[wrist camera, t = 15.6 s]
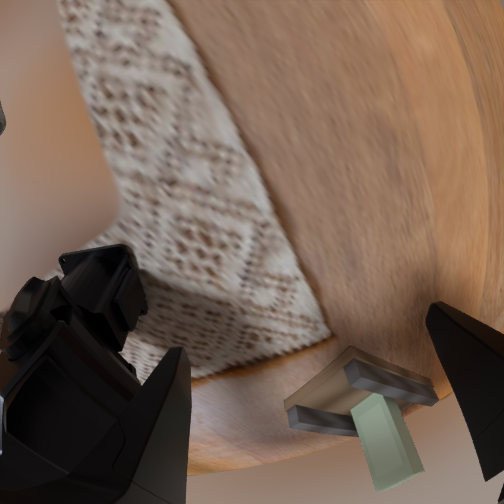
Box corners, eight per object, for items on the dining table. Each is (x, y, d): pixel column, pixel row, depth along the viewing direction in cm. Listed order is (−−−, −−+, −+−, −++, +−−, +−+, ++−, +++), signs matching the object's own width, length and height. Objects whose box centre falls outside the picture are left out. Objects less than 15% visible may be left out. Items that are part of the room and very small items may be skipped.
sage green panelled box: (349, 409, 31) (375, 492, 20) (379, 388, 30) (413, 473, 19) (363, 412, 32) (389, 489, 21) (391, 391, 31) (424, 471, 20)
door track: (283, 401, 31) (288, 428, 28) (350, 345, 27) (363, 375, 24) (377, 419, 37) (384, 439, 34) (429, 379, 34) (440, 399, 30)
